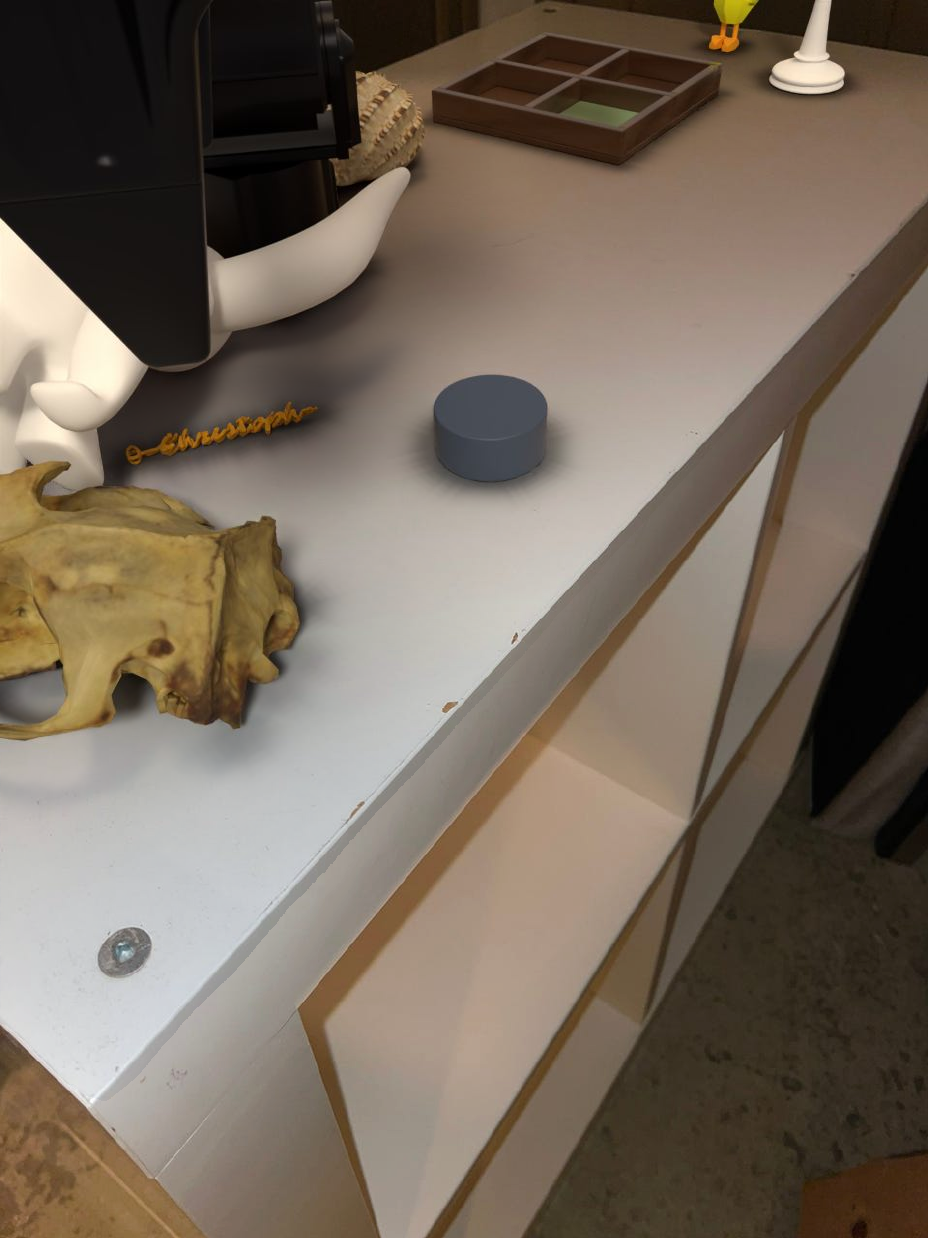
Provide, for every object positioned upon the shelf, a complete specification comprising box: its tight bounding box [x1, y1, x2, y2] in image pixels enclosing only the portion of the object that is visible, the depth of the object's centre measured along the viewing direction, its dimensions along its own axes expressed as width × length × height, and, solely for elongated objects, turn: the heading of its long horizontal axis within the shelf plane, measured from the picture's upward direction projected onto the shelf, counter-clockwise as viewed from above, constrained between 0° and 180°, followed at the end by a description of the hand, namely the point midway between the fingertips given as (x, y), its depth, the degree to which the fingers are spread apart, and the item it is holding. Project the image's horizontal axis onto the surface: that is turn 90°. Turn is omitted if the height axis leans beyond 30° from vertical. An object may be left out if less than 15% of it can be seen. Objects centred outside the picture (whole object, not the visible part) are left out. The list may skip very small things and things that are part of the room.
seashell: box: [327, 70, 426, 187], centre depth 55 cm, size 8×6×10 cm
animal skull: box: [0, 461, 300, 742], centre depth 29 cm, size 10×16×7 cm
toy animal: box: [0, 167, 411, 492], centre depth 37 cm, size 20×12×17 cm
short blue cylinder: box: [432, 374, 549, 483], centre depth 37 cm, size 4×4×2 cm
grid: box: [431, 31, 724, 166], centre depth 63 cm, size 14×14×2 cm
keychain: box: [125, 401, 318, 466], centre depth 39 cm, size 8×1×1 cm, turn 112°
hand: (185, 236), depth 19 cm, fingers open, 9 cm apart
